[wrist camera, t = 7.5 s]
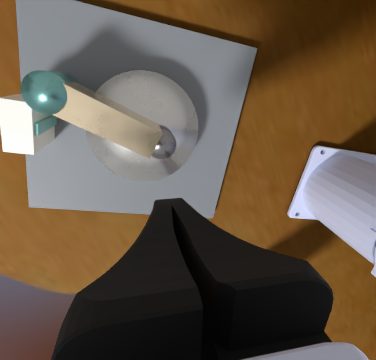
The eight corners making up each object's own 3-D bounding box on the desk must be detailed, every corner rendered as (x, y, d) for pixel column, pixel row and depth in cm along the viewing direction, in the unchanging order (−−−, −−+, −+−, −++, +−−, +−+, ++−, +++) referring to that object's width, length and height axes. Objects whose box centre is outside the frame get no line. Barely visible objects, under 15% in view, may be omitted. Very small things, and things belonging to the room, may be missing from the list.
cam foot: (212, 104, 19) (232, 113, 15) (166, 188, 21) (173, 215, 17) (70, 20, 15) (46, 0, 11) (32, 132, 17) (0, 150, 13)
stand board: (252, 49, 19) (257, 48, 18) (210, 213, 24) (212, 218, 23) (20, -11, 15) (14, -16, 14) (32, 202, 20) (28, 207, 20)
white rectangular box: (57, 97, 17) (35, 103, 13) (57, 139, 18) (37, 155, 14) (28, 92, 16) (-3, 97, 13) (30, 135, 17) (2, 151, 14)
